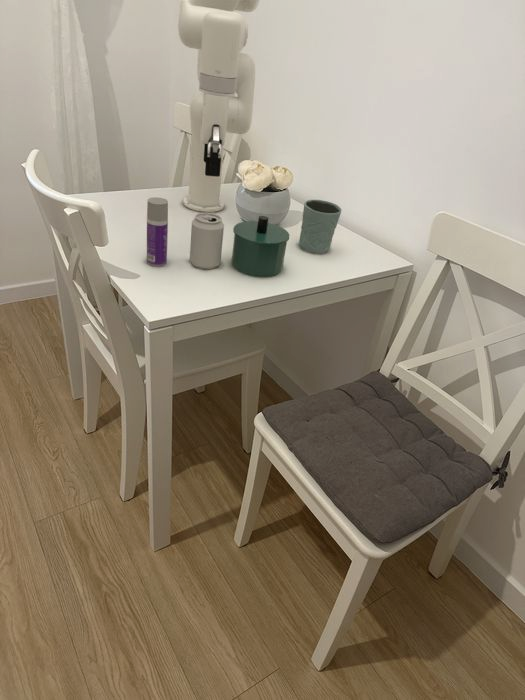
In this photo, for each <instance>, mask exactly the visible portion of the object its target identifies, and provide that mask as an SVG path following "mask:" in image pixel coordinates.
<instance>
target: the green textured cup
mask: <svg viewBox="0 0 525 700" xmlns="http://www.w3.org/2000/svg"><path fill="white" fill-rule="evenodd" d="M341 215H342V208H341V206H339V205H337V204H336V203H333V202H331V201H329V200H323V199H308V200H306V201H304V204H303V211H302V220H301V221H302V222H301V226H300V234H299V239H298V248H299V249H301V250H302V251H304V252H306V253H310V254H313V255H324V254H327V253H329V251H330V248H331V245H332V242H333V238H334V235H335V231H336V228H337V226H338V223H339V219H340V217H341Z"/></svg>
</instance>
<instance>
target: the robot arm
mask: <svg viewBox="0 0 525 700" xmlns="http://www.w3.org/2000/svg"><path fill="white" fill-rule="evenodd" d="M259 3H260V0H180V4H179V14H178V24H177V25H178V27H177V29H178V36H179V39H180V42H181V44H183V45H184V46H185V47H186V48H189V49H195V50H197V64H196V65H197V66H196V67H197V68H196V69H197V70H196V73H197V80H198V83H199V84H198V91H199V92H198V93H196V94H194V95H193V96H192V98H191V99H190V103H189V116H190V130H191V131H190V132H191V134H190V135H191V136H190V138H191V139H190V162H189V178H188V179H189V180H188V195H187V196H185V197H184V198H183V201H182V204H183V205H184V207H186V208H188V209H190V210H193V211H197V212H201V213H204V212H205V213H216V212H219V211H222V210H223V209H224V206H225V203H224V201H223V200H222V199H220V198H221V185H222V174H223V163H224V162H223V161H224V153H225V151H224V145H225V141H226V134H227V133H228V134H229V133H230V134H238V135H245V134H247V133H248V132H249V131H250V128H251V126H252V120H253V109H254V98H255V97H254V95H255V84H256V83H255V82H256V65H255V61H254V58H253V57H252V56H251V55H249V54H247V53H245V52H244V53H243V52H242V51H243V49H244V48H245V47H246V46H247V43H248V37H249V26H248V24H247V21H246V19H245V17H244V16H243V15H242V14H241V13H238V12H243V13H252V12H254V11H256V9H257V7H258V5H259ZM235 11H237V12H235Z"/></svg>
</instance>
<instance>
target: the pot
mask: <svg viewBox="0 0 525 700" xmlns="http://www.w3.org/2000/svg"><path fill="white" fill-rule="evenodd" d="M233 234H234V233H233ZM287 244H288V241H287V242H285V243H283V244H279V245H260V244H255V243H251V242H248V241H245V240H243V239H241V238H239V237H237V236H236V235H235V234H234V235H233V246H232V255H231V266H232V267H233V269H234V270H236V271H237V272H239V273H241V274H243V275H245V276H248V277H249V276H250V277H255V278H272V277H275V276H278V275H279V274H280V273H282V271H283V266H284V262H285V255H286V250H287Z"/></svg>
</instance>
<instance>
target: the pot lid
mask: <svg viewBox="0 0 525 700" xmlns="http://www.w3.org/2000/svg"><path fill="white" fill-rule="evenodd" d="M269 219H270V218H269V217H268V216H266V215H259V216H258V218H257V220H247V221H241V222H238V223H236V224H234V226H233V228H232V229H233V234H235V235H236V236H237V237H239V238H241V239H243V240H245V241H248V242H251V243H255V244H260V245H279V244H283V243H285V242H287V243H288V241H289V239H290V233H289V232H288V231H287V229H285V228H283V226H282V227H281V226H280V225H277V224H275V223H271V222H269Z"/></svg>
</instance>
